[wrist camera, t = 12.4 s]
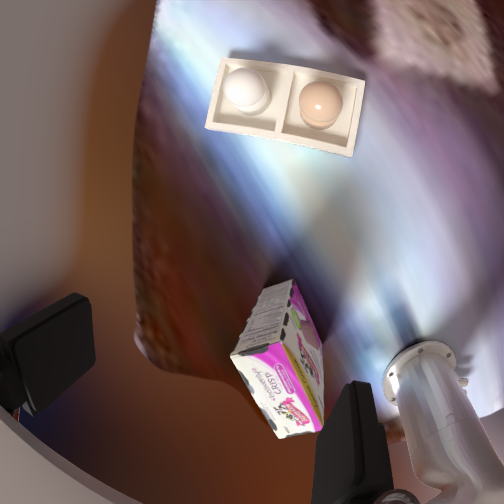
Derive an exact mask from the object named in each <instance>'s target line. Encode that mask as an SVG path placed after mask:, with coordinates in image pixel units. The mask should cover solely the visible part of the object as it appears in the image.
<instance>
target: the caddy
mask: <svg viewBox="0 0 504 504" xmlns="http://www.w3.org/2000/svg"><path fill="white" fill-rule="evenodd" d="M238 68H251V69H254V70H256V71H257V72H259V73H260V74H261V75H262V77H263V78H264V80H265V82H266V84H267V86H268V88H269V91H270V93H271V103H270V105H269V107H268V108H267V110H265V111H264V112H263V113H261V114H259V115H254V116H249V115H245V114H243V113H241V112H240V111H239V110H238V109H237V108H236V107H235V106H234V105H232V104H231V103H230V102H229V101H228V100H227V98H226V97H225V95H224V92H223V83H224V80H225V78H226V77H227V75H228V74H229V73H230V72H232V71H233V70H236V69H238ZM314 81H326V82H329V83H331V84H333V85H334V86H335V87H336V88H337V89H338V90H339V91H340V93H341V95H342V98H343V107H342V110H341V112H340V114H339V116H338V118H337V120H336V122H335V123H334V125H332V126H331V127H330V128H328V129H324V130H316V129H313V128H310V127H309V126H307V125H306V124H305V123H304V122H303V120H302V119H301V116H300V110H299V95H300V92H301V91H302V89H303V88H304V87H305V86H306V85H307V84H309V83H311V82H314ZM364 86H365V81H363V80H359V79H356V78H352V77H348V76H344V75H340V74H335V73H331V72H326V71H321V70H316V69H311V68H306V67H300V66H294V65H288V64H281V63H274V62H266V61H257V60H246V59H233V58H221V61H220V65H219V69H218V72H217V76H216V81H215V85H214V89H213V93H212V97H211V102H210V106H209V110H208V115H207V119H206V124H205V128H207V129H209V130H214V131H221V132H228V133H235V134H241V135H248V136H254V137H259V138H265V139H270V140H276V141H281V142H286V143H291V144H295V145H300V146H305V147H309V148H314V149H318V150H322V151H326V152H330V153H334V154H338V155H342V156H346V157H352V155H353V150H354V144H355V139H356V134H357V128H358V123H359V117H360V111H361V105H362V99H363V93H364Z"/></svg>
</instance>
